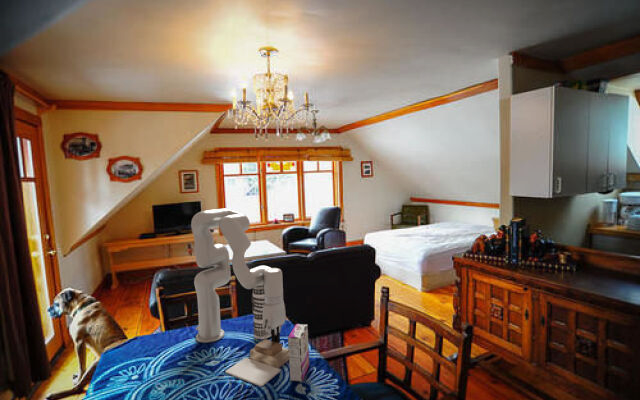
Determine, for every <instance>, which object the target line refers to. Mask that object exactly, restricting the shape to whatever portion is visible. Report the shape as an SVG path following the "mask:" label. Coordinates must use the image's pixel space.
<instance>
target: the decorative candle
mask: <svg viewBox="0 0 640 400" xmlns="http://www.w3.org/2000/svg"><path fill="white" fill-rule="evenodd" d="M250 298H251V306H252V313H253V325H252V326H253V337H254V338H255V339H257V340H264V339H268V338H270V337H271V334H270V333H269V334H268V333H266V328H263V307H264V304H265V294H264V284H262V285H259V286H257V287H255V288H252V295H250Z"/></svg>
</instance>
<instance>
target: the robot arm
mask: <svg viewBox="0 0 640 400" xmlns="http://www.w3.org/2000/svg"><path fill="white" fill-rule="evenodd" d="M190 224H191V225H190V226H191V231H192V235H193V239H194V251H195V254H194V255H195V262H196V264H197V267H199V268H202V269H203V268H204V269H205V268H207V269H206V270H203V271H200V272H199V273H197V274H196V275H195V277H194V281H193V284H194V287H195V288H194V289H195V292H196V297H197V310H198V311H197V313H198V315H197V316H198V324H197V326H195V330H196V331H197V332H198V333H197V334H196V336H195V338H196V339H195V340H196V341H197V342H199V343H205V344H207V343H213V342H217V341H219V340H220V339H222V338H223V337H224V336H225V331H224V329H222V328H221V327H222V325H221V310H220V309H221V308H220V297H219V294H218V293H217V292H216V289H217V288H220V287H223V286H225V285H227V284H228V283H229V282H230V279H231V275H232V274H231V265H232V270H233V273H234V275H235V276H236V279H237V281H238V282H239V283H240V285H241V286H242V287H243V288H245V289H247V290H251V289H252V290H253V288H255V287H257V286H259V285H262V284H264V294H265V304H264V307H263V328H266V333H268V334H269V333H270V334H271V336H270V337H271V341H274V342H277V343H280V342H281V330H282V326H283V325H284V324H285V322H286V318H287V316H286V305H285V302H284V288H283V285H284V284H283V271H282V270H281V268H277V267H271V266H267V265H258V266H255V267H253V268H249V267H248V265H247V264H246V263H247V262H246V261H245V260H246V259H245V253H246V252H247V250H248V249H249V248H250V246H251V245H252V241H251V240H250V239H249V236H248V235H247V233H246V231H247V230H249V228H250V225H251V223H250V220H249V218H248V217H247V215H246V214H244V213H242V212H238V211H235V210H232V209H227V208H215V209H209V210H208V209H207V210H201V211H199V212H197V213H196V214H194V215H193V217H192V219H191V223H190ZM217 228H219V230H220V232H221V234H222V235H223V238H224V239H225V241H226V242H227V244H228V246H229V248H230V250H231V251H232V260H231V261H232V264H231V263H230V253H229V250H228V248H227V247H226V245H224V244H222V243H215V239H214V235H213V233H212V231H211V229H217ZM213 266H214V267H213ZM210 267H212V268H210Z"/></svg>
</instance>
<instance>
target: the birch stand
mask: <svg viewBox="0 0 640 400" xmlns="http://www.w3.org/2000/svg"><path fill="white" fill-rule="evenodd" d="M249 354H250V355H249V359H252V360H255V361H258V362H261V363H263V364H266V365H269V366H272V367H275V368H278V369H280V368H281V367H283V365H284V364H286V363H287V362H289V348H286V347H283V346H282V351H280V352H279V353H278V354H276V355H275V356H273V357H271V356H268V355H265V354H262V353H259V352H256V351H255V346H254V347H252V348H251V349H249Z"/></svg>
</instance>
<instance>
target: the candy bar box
mask: <svg viewBox="0 0 640 400" xmlns="http://www.w3.org/2000/svg"><path fill="white" fill-rule="evenodd" d="M287 344H288V346H287V347H288V348H287V349H289V360H288V363H289V381H292V382H300V383H301V382H303V381H304V380H305V379H304V378H305V377H306V374H307V371H308V370H309V367H310V349H309V329H308V324H305V323H304V324H303V323H296V324H295V325H294V327H293V329H292V330H291V332H290V334H289V335H288V337H287Z"/></svg>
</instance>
